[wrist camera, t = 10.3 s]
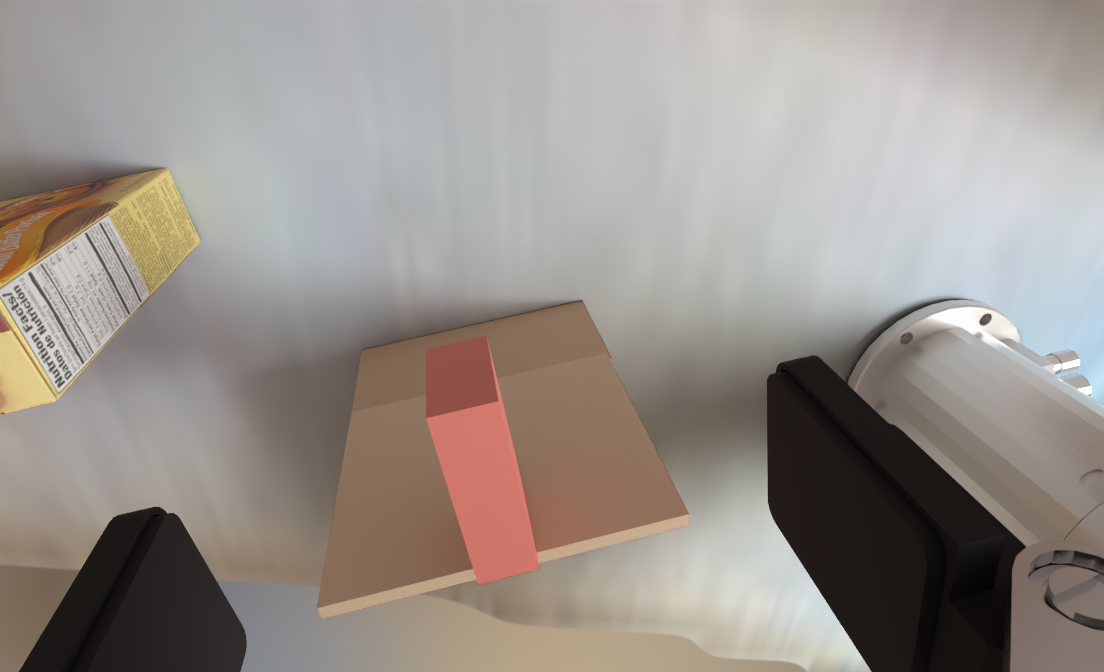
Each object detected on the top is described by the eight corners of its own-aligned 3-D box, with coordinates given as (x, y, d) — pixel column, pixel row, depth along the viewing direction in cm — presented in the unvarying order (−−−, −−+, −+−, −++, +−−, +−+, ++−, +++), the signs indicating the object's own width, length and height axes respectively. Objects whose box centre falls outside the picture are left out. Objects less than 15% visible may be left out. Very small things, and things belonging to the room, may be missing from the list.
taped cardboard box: (607, 361, 32) (587, 225, 29) (697, 539, 22) (682, 358, 18) (354, 421, 31) (304, 287, 28) (318, 637, 21) (231, 464, 18)
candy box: (28, 282, 33) (-238, 482, 20) (-23, 201, 31) (-359, 362, 18) (206, 241, 34) (64, 408, 20) (167, 159, 32) (-19, 285, 18)
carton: (582, 300, 39) (612, 358, 33) (608, 464, 45) (637, 539, 39) (361, 350, 38) (350, 420, 32) (418, 511, 44) (417, 595, 38)
